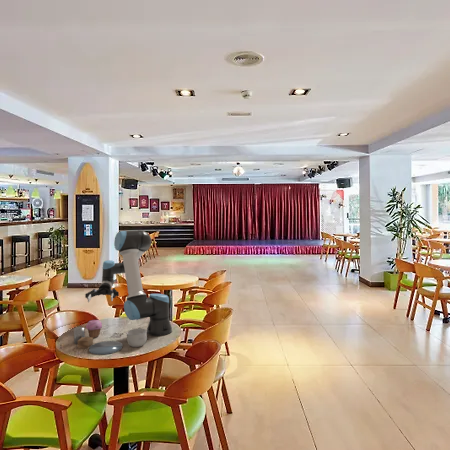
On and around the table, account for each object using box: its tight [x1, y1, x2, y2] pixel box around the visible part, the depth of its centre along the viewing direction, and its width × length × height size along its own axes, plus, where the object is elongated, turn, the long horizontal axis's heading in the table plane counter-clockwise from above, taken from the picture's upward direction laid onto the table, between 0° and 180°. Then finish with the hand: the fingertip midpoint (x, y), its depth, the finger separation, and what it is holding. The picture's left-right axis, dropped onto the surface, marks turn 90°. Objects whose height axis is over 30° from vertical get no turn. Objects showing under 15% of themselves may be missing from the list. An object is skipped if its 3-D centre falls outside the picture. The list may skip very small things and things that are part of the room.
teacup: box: [125, 327, 148, 348], centre depth 202 cm, size 14×11×8 cm
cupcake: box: [85, 319, 103, 339], centre depth 215 cm, size 9×9×10 cm
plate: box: [88, 340, 123, 356], centre depth 196 cm, size 17×17×1 cm
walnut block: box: [77, 336, 94, 349], centre depth 200 cm, size 6×6×4 cm
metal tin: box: [73, 326, 86, 345], centre depth 206 cm, size 6×6×8 cm
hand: (100, 299), depth 223 cm, fingers open, 13 cm apart
